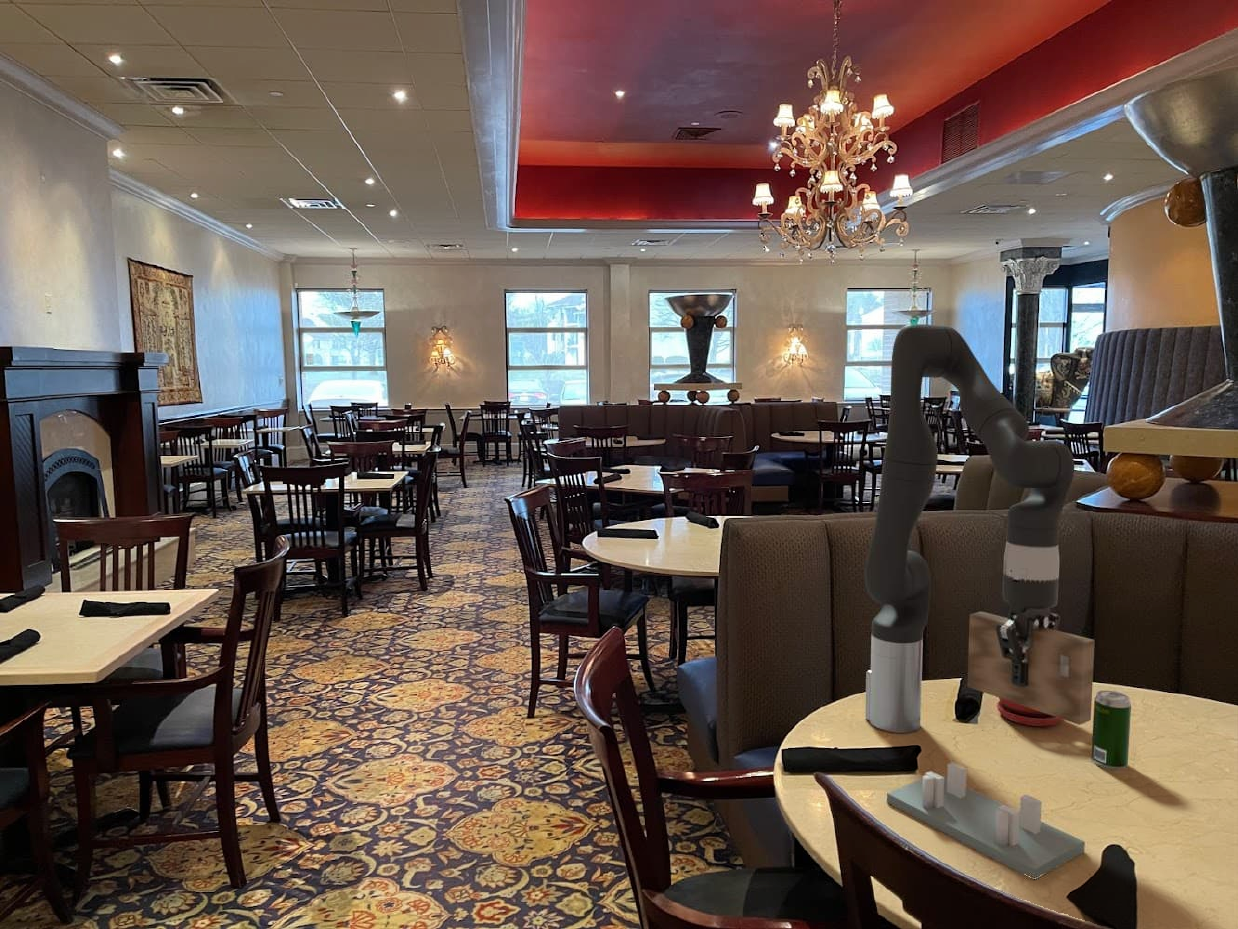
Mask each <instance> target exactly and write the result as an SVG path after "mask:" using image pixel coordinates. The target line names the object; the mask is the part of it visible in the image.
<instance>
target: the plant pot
mask: <svg viewBox="0 0 1238 929" xmlns="http://www.w3.org/2000/svg"><path fill="white" fill-rule="evenodd" d="M998 699H999V700H998V702H996V708H997V711H998V712H999V713H1000V714H1001V715H1002V716H1003V717H1005V718H1006V719H1008V720H1010V721H1012V722H1013V721H1015V722H1014V723H1018V724H1022V725H1026V726H1034V727H1046V726H1053V725H1055V724H1058V723H1059V722H1060V721H1062V719H1061V718H1058V717H1055V716H1052V715H1049V714H1046V713H1043V712H1040V711H1037V710H1034V709H1031V708H1028V707H1025V706H1023V705H1020V704H1017V703H1014V702H1011V701H1008V700H1005V699H1002V698H999V697H998Z"/></svg>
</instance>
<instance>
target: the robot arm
mask: <svg viewBox="0 0 1238 929" xmlns="http://www.w3.org/2000/svg"><path fill="white" fill-rule="evenodd" d="M896 334H897V335H896V337H895V338H894V339H895V340H894V342H893V347H892V353H891V363H890V364H891V366H890V367H891V368H890V371H891V372H890V399H889V400H890V402H889V416H888V426H887V433H886V434H887V435H886V442H885V448H884V454H883V462H882V469H881V478H880V490H879V495H878V496H879V497H878V504H877V508H876V509H877V511H876V517H875V521H874V522H875V524H874V528H873V533H872V538H871V541H870V546H869V549H868V553H867V554H868V555H867V557H866V563H865V569H864V584H865V588H866V591H867V593H868V595H869V596H870V598H871V599H872V600H874V601H875V602H876V603H878V604H881V605H883V607H882V608H881V609H880V611H879V612H878V613H877V615H876V616H874V618H873V619H872V622H871V646H870V669H868V670H867V671H866V676H865V712H864V713H865V715H864V716H865V717H864V718H865V719H866V720H868V721H869V723H870V724H871V725H872V726H873V727H875V728H878V729H879V730H883V731H886V732H889V733H891V732H892V733H896V734H897V733H899V734H900V733H901V734H902V733H903V734H907V733H913V732H917V731H918V730H919V729H920V728H921V715H922V714H921V711H922V682H923V681H922V680H923V679H922V678H923V674H922V673H923V646H924V645H923V640H924V639H923V638H924V630H925V628H926V625H927V623H928V619H929V612H930V611H929V610H930V599H931V580H932V579H931V572H930V568H929V565H928V564H927V561H926V560H925V559H924V557H923V556H922V555H921V554H919V553H918V552H916V551H913V550H909V547H910V546H909V545H910V540H911V536H912V533H913V530H914V527H915V526H916V524H917V522H918V520H919V518H920V516H921V514H922V513H923V510H924V509H925V507H926V505H927V503H928V502H929V499H930V497H931V495H932V492H933V489H934V486H935V481H936V473H937V472H936V471H937V467H938V466H937V465H938V458H939V455H938V454H939V450H938V447H937V443H936V440H935V437H934V435H933V433H932V430H931V429H930V426H929V424H928V421H927V420H926V417H925V415H924V414H925V413H924V411H923V407H922V386H923V385H922V383H923V380H924V379H923V378H933V379H938V378H943V379H944V380H946V381H948V383H950V384H951V385H953V386H954V387H955V388H956V390H957V391H958V393H959V409H960V413H961V416H962V418H963V420H964V422H965V423H966V425H967V426H968V428H970V430H971V431H972V432H973V434H975V436H976V437H977V438H978V439H979V440H980V441H981V442H982V443H983V445H985V449H986V451H987V454H988V456H989V458H990V460H991V463H992V465H993V468H994V470H995V473H996V475H997V476H998V477H999V479H1000V480H1001V481H1002V482H1004V483H1005V484H1007V485H1008V486H1010V487H1012V488H1014V489H1023V490H1024V489H1030V491H1029V492H1030V493H1029V495H1028V497H1027V498H1026V499H1025V500H1023V501H1020V502H1018V503H1014V504H1013V505H1011V506H1010V507H1009V509H1008V513H1007V518H1006V538H1005V539H1006V542H1005V550H1004V554H1003V572H1002V574H1003V575H1002V577H1003V578H1002V599H1003V601H1004V602H1005V603H1007V604H1008V605H1009V612H1008V615H1007V618H1008V621H1007V622H1006V623H1005V624H1004V625H1000V624H998V625H997V626H996V632H997V636H998V640H999V644H1000V648H1001V652H1002V656H1003V658H1006V659H1010V660H1012V683H1013V684H1014V685H1017V686H1020V687H1025V686H1027V685H1028V668H1029V663H1028V661H1029V654H1030V649H1032V648H1033V641H1034V631H1036V630H1038V627H1039V628H1049V629H1053V630H1057V631H1058V628H1059V624H1060V620H1061V615H1060V614H1057V613H1052V612H1051V610H1050V609H1051V608H1055V607H1056V606H1057V605H1058V603H1059V602H1058V601H1059V600H1058V599H1059V579H1060V575H1059V574H1060V553H1059V536H1060V535H1059V534H1060V533H1059V532H1060V517H1061V514H1062V512H1063V509H1064V507H1065V504H1066V501H1067V497H1068V495H1069V493H1070V492H1069V491H1070V488H1071V486H1072V483H1073V480H1074V475H1075V461H1074V456H1073V454H1072V452H1071V450H1070V449H1069V447H1068V446H1067V445H1066V444H1064V443H1063V442H1061V441H1059V440H1030V441H1029V440H1026V439H1027V438H1028V436H1029V433H1030V426H1029V423H1028V421H1027V419H1026V418H1025V416H1023V414H1022V413H1021V412H1020V411H1019V410H1018V409H1017V408H1016V407H1015V406H1014V405H1013V404H1012V403H1011V402H1010V401H1009V400H1008V399H1007V398H1006V396H1004V395H1003V393H1001V391H1000V390H998V388H997V387H996V386H995V385H994V383H993V382H992V381H991V379H990V377H989V376H988V375H987V373H986V372H985V370H984V368H983V367H982V365H981V363H980V362H979V360H978V359H977V357H976V356H975V355H974V352H973V351H972V350H971V348H970V346H969V344H968V343H967V341H966V340H965V338H964V337H963V335H961V333H960V332H958V331H957V330H956V329H954V328H953V327H951V326H946V325H935V324H921V323H920V324H917V323H911V324H910V323H909V324H906V325H904V326H902V327H901V329H900V330H899V331H898V332H897V333H896ZM1018 638H1020V639H1023V640H1027V642H1023V641H1019V640H1018ZM1020 647H1022V648H1023V651H1022V654H1021V650H1020ZM1009 649H1010V651H1009Z"/></svg>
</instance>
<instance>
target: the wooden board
mask: <svg viewBox="0 0 1238 929" xmlns="http://www.w3.org/2000/svg"><path fill="white" fill-rule="evenodd" d="M1007 621H1008V617H1004V616H1001V615H996V614H993V613H989V612H984V611H977V612H975V613H971V614H969V626H968V628H969V629H968V630H969V631H968V632H969V633H968V658H967V659H968V660H967V663H968V664H967V687H968V688H970V689H973V690H975V691H978V692H982V693H984V694H988V695H991V696H994V697H997V698H998V699H999V698H1002V699H1005V700H1008V701H1011V702H1014V703H1017V704H1020V705H1023V706H1025V707H1028V708H1031V709H1034V710H1037V711H1040V712H1043V713H1046V714H1049V715H1052V716H1055V717H1058V718H1061V720H1064V721H1068V722H1070V723H1072V724H1076V725H1079V726H1081V725H1083V724H1085V723H1087V722H1089V721H1091V720H1092V705H1093V704H1092V701H1093V685H1094V684H1093V683H1094V682H1093V680H1094V679H1093V678H1094V663H1095V662H1094V661H1095V644H1096V643H1095V639H1092V638H1088V637H1086V636H1080V635H1076V634H1073V633H1069V632H1064V631H1061V630H1058V629H1057V630H1053V629H1049V628H1039V627H1038V630H1036V631H1034V641H1033V648H1032V649H1030V654H1029V661H1028V663H1029V668H1028V685H1027V686H1025V687H1020V686H1017V685H1014V684H1013V683H1012V660H1010V659H1006V658H1003V656H1002V652H1001V648H1000V644H999V640H998V636H997V632H996V626H997V625H998V624H1000V625H1004V624H1005V623H1006V622H1007ZM1018 640H1019V641H1023V642H1027V640H1023V639H1020V638H1018ZM1020 650H1021V654H1022V651H1023V648H1022V647H1020ZM1009 651H1010V649H1009Z"/></svg>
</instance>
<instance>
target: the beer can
mask: <svg viewBox="0 0 1238 929" xmlns="http://www.w3.org/2000/svg"><path fill="white" fill-rule="evenodd" d="M1095 694H1096V695H1095V697H1094V700H1093V702H1094V704H1093V720H1092V722H1093V724H1092V738H1091V739H1092V741H1091V760H1092V761H1093V763H1094V765H1096V766H1098V767H1099V768H1102V769H1106V770H1110V771H1122V770H1125V769H1126V768H1127V766H1128V764H1129V750H1130V732H1131V731H1130V730H1131V717H1132V716H1131V713H1132V703H1131V698H1130V696H1128V695H1127V694H1125V693H1122V692H1120V691H1114V690H1098V691H1096V693H1095Z"/></svg>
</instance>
